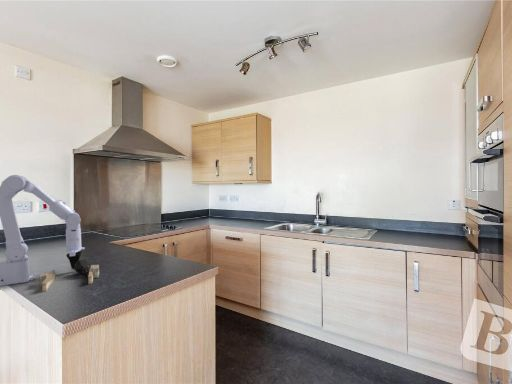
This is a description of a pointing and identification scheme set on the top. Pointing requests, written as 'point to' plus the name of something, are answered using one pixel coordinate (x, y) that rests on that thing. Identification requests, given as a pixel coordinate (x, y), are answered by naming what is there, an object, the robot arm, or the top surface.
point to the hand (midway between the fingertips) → (74, 268)
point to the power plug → (82, 266)
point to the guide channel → (48, 278)
